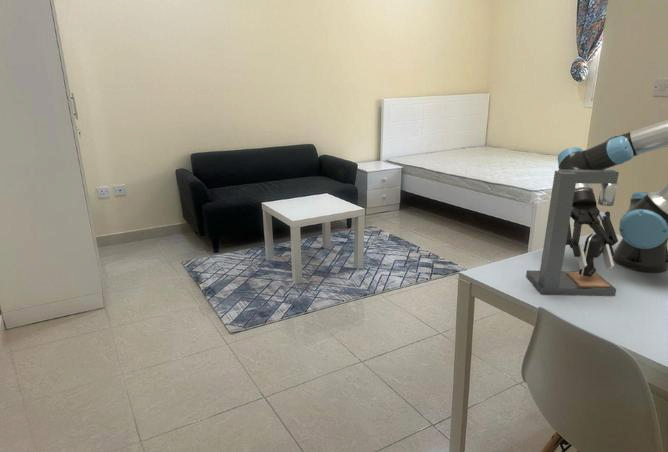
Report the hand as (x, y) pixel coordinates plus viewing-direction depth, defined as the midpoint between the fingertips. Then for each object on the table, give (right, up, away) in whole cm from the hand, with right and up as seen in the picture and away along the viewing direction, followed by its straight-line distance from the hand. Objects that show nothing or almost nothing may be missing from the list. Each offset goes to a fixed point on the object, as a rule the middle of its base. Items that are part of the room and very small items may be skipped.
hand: (596, 267), depth 126 cm
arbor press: (-5, -6, +6) cm, 10 cm away
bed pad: (0, -4, +5) cm, 6 cm away
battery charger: (0, -2, +5) cm, 5 cm away
